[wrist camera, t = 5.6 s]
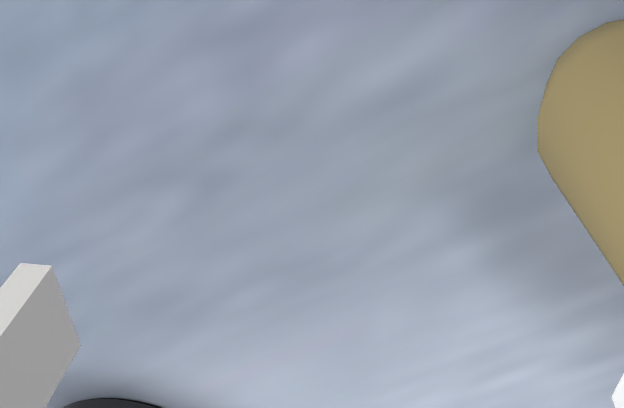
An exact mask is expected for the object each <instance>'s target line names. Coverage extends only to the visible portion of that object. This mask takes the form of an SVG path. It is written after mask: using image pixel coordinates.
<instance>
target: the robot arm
mask: <svg viewBox="0 0 624 408" xmlns="http://www.w3.org/2000/svg"><path fill="white" fill-rule="evenodd" d="M80 346H81V345H80V342H79V339H78V337H77V334H76V331H75V328H74V326H73V323H72V320H71V317H70V314H69V312H68V309H67V306H66V303H65V301H64V298H63V295H62V292H61V289H60V287H59V284H58V281H57V278H56V275H55V273H54V270H53V267H52V266H48V265H36V264H24V263H20V264H19V265H18V267H17V268H16V269H15V270H14V272H13V273H12V274H11V275H10V277H9V278H8V279H7V280H6V282H5V283H4V284H3V285H2V287H1V288H0V408H46V406H47V404H48V402H49V401H50V399H51V397H52V395H53V394H54V392H55V390H56V388H57V387H58V385H59V383H60V381H61V380H62V378H63V376H64V374H65V373H66V371H67V369H68V367H69V366H70V364H71V362H72V360H73V359H74V357H75V355H76V353H77V352H78V350H79V348H80ZM612 399H613V402H614V405H615V407H616V408H624V374H623V376H622V378H621V380H620V381H619V383H618V385H617V387H616V389H615V391H614V393H613V395H612ZM64 408H156V407H152V406H149V405H145V404H142V403H137V402H132V401H126V400H118V399H91V400H84V401H80V402H76V403H73V404H70V405H68V406H66V407H64Z"/></svg>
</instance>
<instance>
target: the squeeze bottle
mask: <svg viewBox="0 0 624 408" xmlns="http://www.w3.org/2000/svg"><path fill="white" fill-rule="evenodd" d="M538 153H539V155H540V157H541V159H542V160H543V162H544V164H545V166H546V168H547V170H548V172H549V174H550V175H551V177H552V179H553V181H554V182H555V184H556V185H557V187H558V188H559V190H560V191H561V193H562V194H563V196H564V197H565V199H566V200H567V202H568V203H569V204H570V206H571V207H572V209H573V210H574V212H575V213H576V215H577V216H578V218H579V219H580V221H581V222H582V224H583V225H584V227H585V228H586V230H587V231H588V233H589V234H590V236H591V237H592V239H593V240H594V242H595V243H596V245H597V246H598V248H599V249H600V251H601V252H602V254H603V255H604V257H605V258H606V260H607V261H608V263H609V264H610V266H611V267H612V269H613V270H614V272H615V273H616V275H617V276H618V278H619V279H620V281H621V282H622V284H623V285H624V20H618V21H612V22H607V23H605V24H603V25H601V26H599V27H597V28H596V29H594V30H592V31H590V32H588V33H586V34H584V35H582V36H581V37H579V38H578V39H577V40H576V41H575V42H574V43H573V44H572V45H571V46H570V47H569V48H568V49H567V50H566V51H565V52H564V53H563V54H562V55H561V56H560V57H559V58H558V60H557V62H556V64H555V67H554V69H553V71H552V73H551V75H550V78H549V80H548V82H547V85H546V89H545V92H544V96H543V100H542V104H541V108H540V111H539V115H538Z"/></svg>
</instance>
